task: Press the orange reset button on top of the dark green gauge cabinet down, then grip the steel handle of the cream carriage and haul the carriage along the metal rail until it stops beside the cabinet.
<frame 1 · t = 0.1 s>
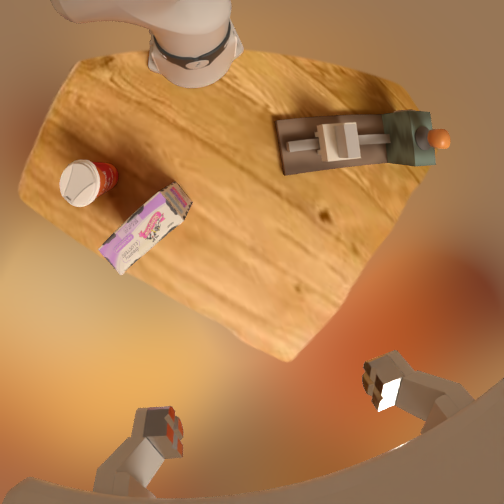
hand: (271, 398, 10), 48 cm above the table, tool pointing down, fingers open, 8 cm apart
carriage: (341, 141, 48), point 6 cm above the table, slide at 0.0 cm
reset button: (439, 138, 40), point 16 cm above the table, slide at 0.0 cm
paper cup: (106, 176, 50), on the table
candy box: (158, 212, 54), on the table
rail base: (347, 140, 54), on the table
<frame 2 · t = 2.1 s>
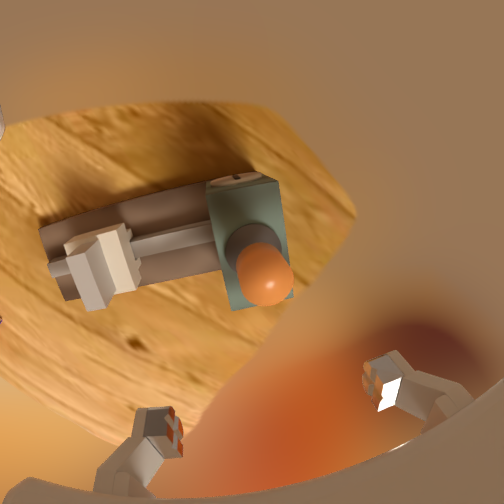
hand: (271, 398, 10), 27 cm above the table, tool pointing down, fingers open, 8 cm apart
carriage: (99, 266, 28), point 6 cm above the table, slide at 0.0 cm
reset button: (263, 273, 20), point 16 cm above the table, slide at 0.0 cm
rail base: (146, 239, 34), on the table
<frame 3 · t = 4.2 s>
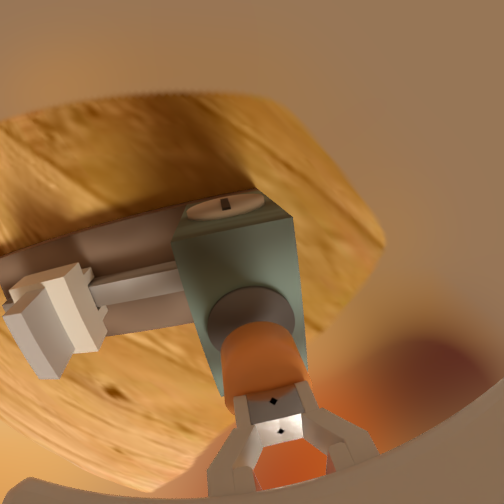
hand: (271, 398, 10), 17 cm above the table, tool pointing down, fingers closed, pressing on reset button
carriage: (52, 318, 19), point 6 cm above the table, slide at 0.0 cm
reset button: (263, 372, 12), point 15 cm above the table, slide at 0.8 cm, touching gripper
rail base: (114, 278, 25), on the table
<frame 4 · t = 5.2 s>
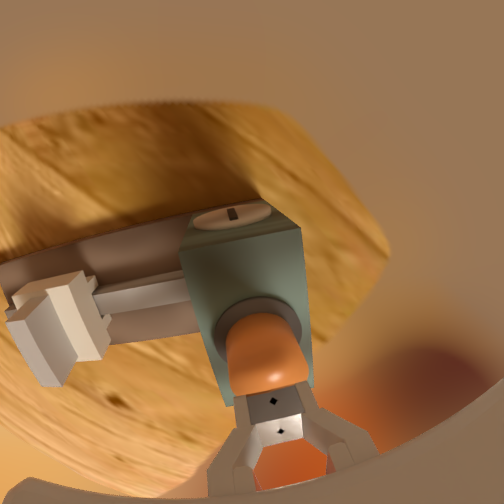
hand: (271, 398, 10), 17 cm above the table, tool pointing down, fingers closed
carriage: (55, 326, 19), point 6 cm above the table, slide at 0.0 cm
reset button: (264, 359, 13), point 14 cm above the table, slide at 2.5 cm
rail base: (118, 287, 25), on the table
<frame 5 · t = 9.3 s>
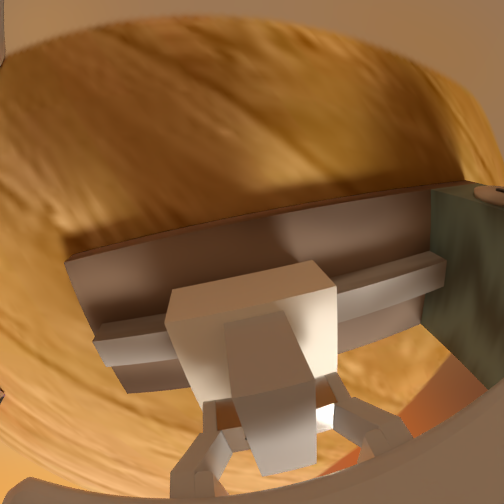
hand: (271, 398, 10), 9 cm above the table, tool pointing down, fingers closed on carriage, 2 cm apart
carriage: (262, 364, 12), point 6 cm above the table, slide at 0.0 cm, touching gripper
rail base: (312, 284, 19), on the table
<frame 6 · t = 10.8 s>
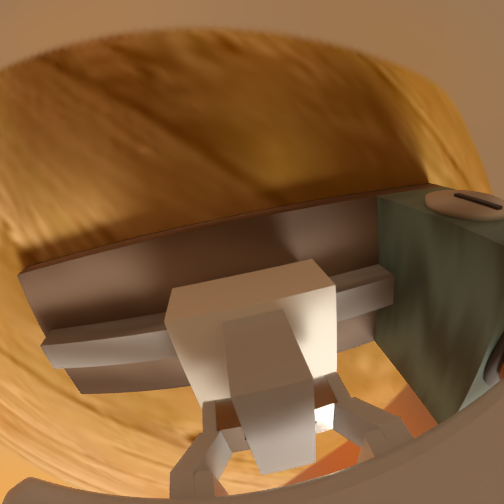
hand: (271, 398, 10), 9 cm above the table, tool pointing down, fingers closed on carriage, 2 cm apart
carriage: (262, 363, 12), point 6 cm above the table, slide at 4.7 cm, touching gripper
rail base: (243, 298, 18), on the table
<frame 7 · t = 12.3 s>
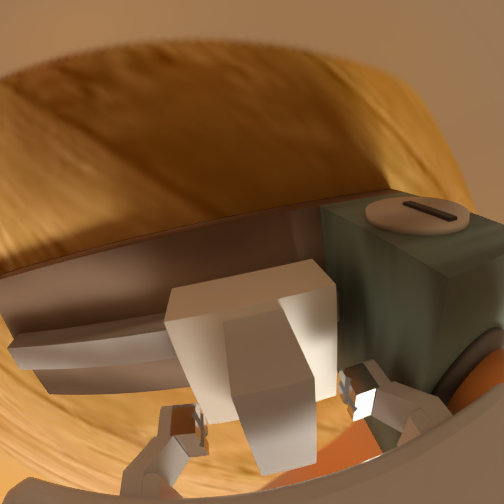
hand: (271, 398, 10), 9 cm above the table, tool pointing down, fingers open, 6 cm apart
carriage: (262, 363, 12), point 6 cm above the table, slide at 8.5 cm
reset button: (496, 406, 6), point 14 cm above the table, slide at 2.5 cm
rail base: (186, 310, 18), on the table
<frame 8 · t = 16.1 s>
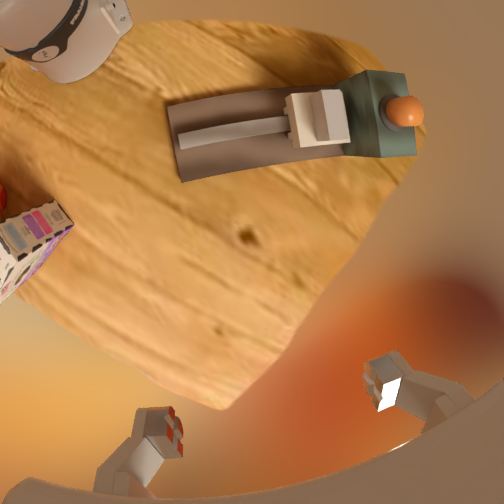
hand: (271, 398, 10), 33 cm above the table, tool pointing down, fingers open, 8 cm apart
carriage: (321, 118, 32), point 6 cm above the table, slide at 8.5 cm
reset button: (404, 111, 26), point 14 cm above the table, slide at 2.5 cm
candy box: (44, 238, 38), on the table
rail base: (279, 125, 38), on the table
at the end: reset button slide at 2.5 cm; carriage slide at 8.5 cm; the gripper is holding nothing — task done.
